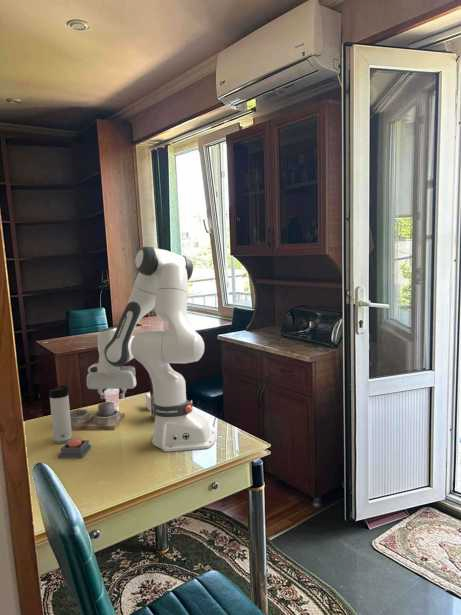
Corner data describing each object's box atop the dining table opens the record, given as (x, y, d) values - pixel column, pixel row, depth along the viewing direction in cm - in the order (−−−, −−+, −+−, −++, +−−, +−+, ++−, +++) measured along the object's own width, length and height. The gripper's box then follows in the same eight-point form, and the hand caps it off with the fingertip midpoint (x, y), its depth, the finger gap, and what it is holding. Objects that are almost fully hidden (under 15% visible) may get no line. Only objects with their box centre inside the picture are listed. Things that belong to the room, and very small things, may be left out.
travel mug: (67, 444, 164) (62, 389, 161) (50, 443, 165) (45, 389, 162) (76, 437, 170) (71, 384, 167) (59, 436, 171) (55, 383, 168)
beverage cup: (122, 411, 195) (120, 379, 193) (108, 415, 191) (106, 382, 189) (117, 407, 200) (115, 376, 198) (103, 411, 196) (101, 378, 194)
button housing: (91, 447, 161) (90, 439, 160) (82, 458, 153) (81, 449, 152) (69, 447, 161) (68, 439, 161) (58, 458, 153) (58, 449, 153)
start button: (83, 443, 159) (83, 437, 158) (78, 448, 154) (78, 442, 154) (71, 443, 159) (70, 437, 159) (65, 448, 155) (65, 442, 154)
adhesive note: (159, 404, 202) (159, 391, 201) (164, 408, 197) (163, 395, 196) (146, 407, 199) (145, 393, 199) (150, 411, 194) (149, 397, 193)
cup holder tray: (124, 416, 188) (123, 399, 187) (114, 429, 176) (113, 410, 175) (72, 417, 190) (70, 399, 189) (58, 429, 177) (56, 411, 176)
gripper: (137, 364, 195) (139, 395, 197) (89, 364, 197) (92, 396, 199) (132, 368, 189) (135, 400, 191) (83, 368, 191) (86, 401, 193)
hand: (112, 398), depth 195 cm, fingers open, 7 cm apart
